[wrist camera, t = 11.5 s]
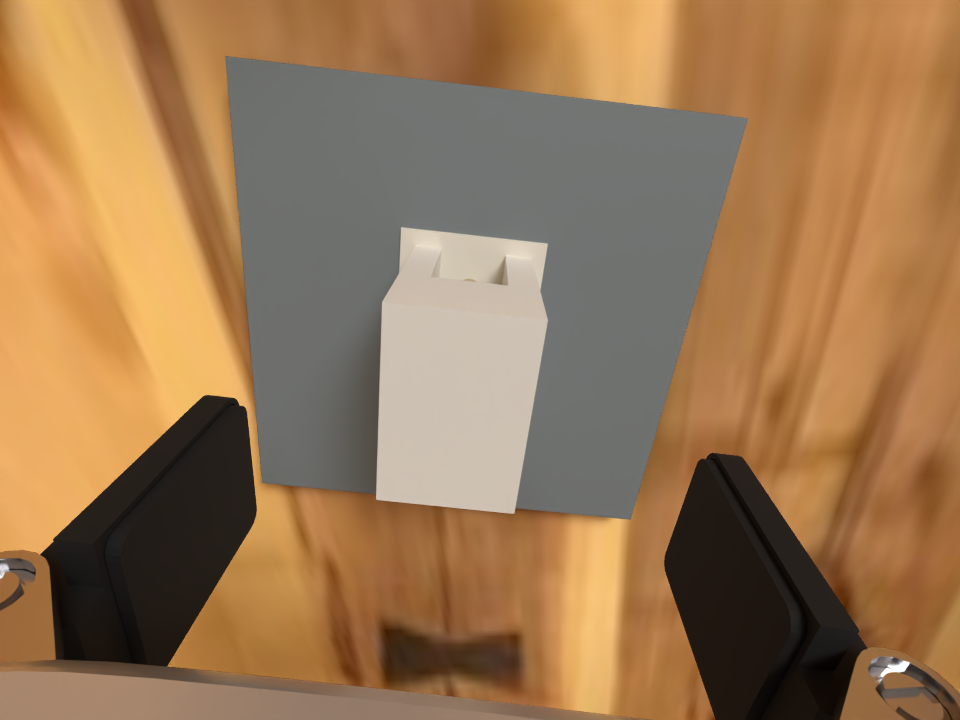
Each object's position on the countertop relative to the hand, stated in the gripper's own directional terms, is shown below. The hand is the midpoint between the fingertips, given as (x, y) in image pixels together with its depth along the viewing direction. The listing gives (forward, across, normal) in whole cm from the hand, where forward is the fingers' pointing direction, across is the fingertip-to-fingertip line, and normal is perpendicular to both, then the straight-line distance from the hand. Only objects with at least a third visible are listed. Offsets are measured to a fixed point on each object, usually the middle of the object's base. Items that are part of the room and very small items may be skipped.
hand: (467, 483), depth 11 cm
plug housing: (+9, +1, 0) cm, 9 cm away
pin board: (+10, +1, 0) cm, 10 cm away
